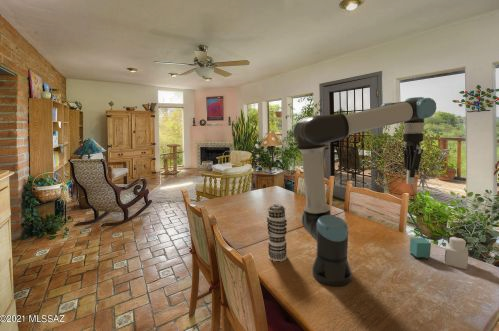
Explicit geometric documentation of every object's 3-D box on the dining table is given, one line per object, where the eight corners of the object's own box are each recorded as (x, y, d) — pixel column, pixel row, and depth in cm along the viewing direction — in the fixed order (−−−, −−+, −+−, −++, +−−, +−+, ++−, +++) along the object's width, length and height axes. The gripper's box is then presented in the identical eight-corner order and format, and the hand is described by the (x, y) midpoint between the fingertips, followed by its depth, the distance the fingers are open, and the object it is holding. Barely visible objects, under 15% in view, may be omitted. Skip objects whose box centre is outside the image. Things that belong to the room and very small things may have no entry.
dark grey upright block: (415, 259, 109) (416, 244, 108) (409, 253, 113) (410, 239, 112) (427, 259, 108) (429, 244, 107) (421, 253, 113) (422, 239, 112)
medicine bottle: (444, 257, 109) (447, 232, 108) (466, 262, 105) (468, 236, 103) (444, 264, 104) (446, 238, 102) (466, 270, 99) (469, 242, 98)
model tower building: (263, 257, 114) (262, 206, 111) (275, 250, 121) (274, 201, 118) (279, 264, 108) (278, 210, 105) (291, 256, 115) (290, 205, 111)
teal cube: (416, 257, 108) (417, 243, 107) (409, 250, 114) (410, 237, 113) (429, 257, 107) (430, 243, 106) (422, 251, 113) (423, 237, 112)
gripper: (431, 132, 103) (427, 187, 106) (414, 132, 116) (411, 180, 119) (412, 133, 104) (408, 187, 107) (397, 132, 117) (395, 180, 120)
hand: (410, 183), depth 113 cm, fingers closed
